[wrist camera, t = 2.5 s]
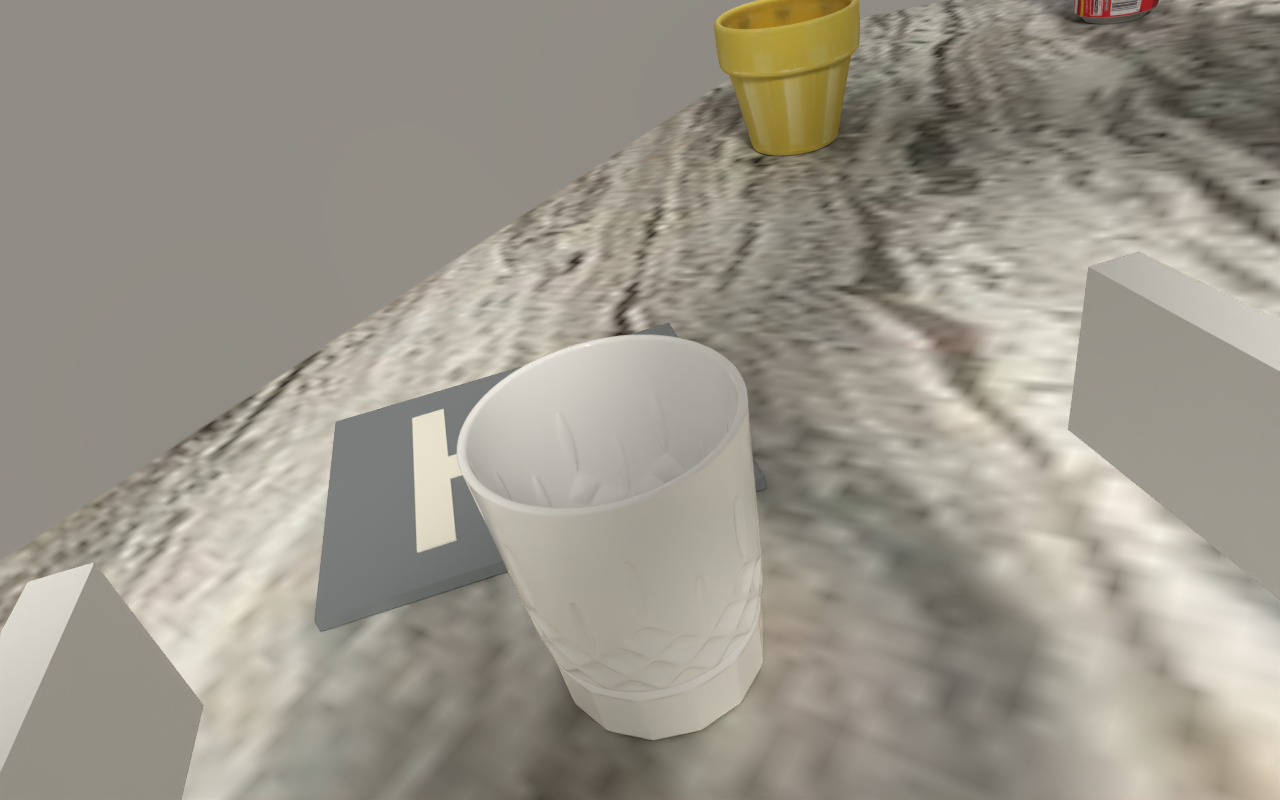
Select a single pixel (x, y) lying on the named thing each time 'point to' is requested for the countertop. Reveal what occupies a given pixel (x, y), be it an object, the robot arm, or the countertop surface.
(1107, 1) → the soda can
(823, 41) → the plant pot
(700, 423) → the white cup
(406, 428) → the letter board
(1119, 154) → the countertop surface
